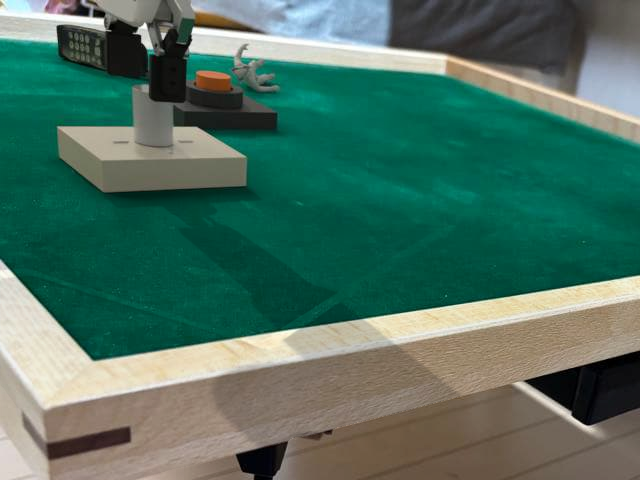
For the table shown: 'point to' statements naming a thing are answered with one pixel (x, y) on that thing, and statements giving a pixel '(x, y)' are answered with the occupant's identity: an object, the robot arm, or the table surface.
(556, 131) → the table surface
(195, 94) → the button box
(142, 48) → the mobile phone
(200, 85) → the button
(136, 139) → the grey cylinder
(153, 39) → the robot arm
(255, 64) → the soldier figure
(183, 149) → the plate
